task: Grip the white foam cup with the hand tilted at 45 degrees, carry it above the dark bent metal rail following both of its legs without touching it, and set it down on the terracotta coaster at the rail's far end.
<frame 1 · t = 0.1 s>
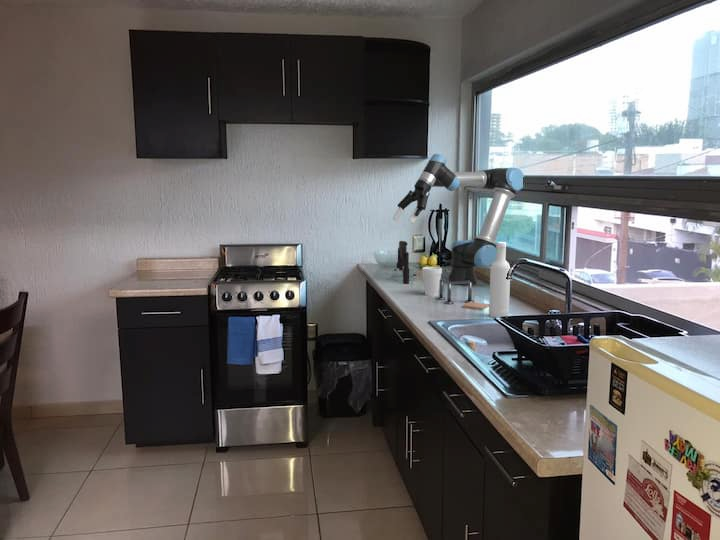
hand: (402, 220, 273), 36 cm above the worktop, tool tilted 35°, fingers open, 13 cm apart
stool: (402, 280, 323), on the worktop
foam cup: (431, 295, 280), on the worktop
bent rail: (452, 301, 264), on the worktop
coaster: (475, 306, 253), on the worktop
bottle: (498, 316, 236), on the worktop
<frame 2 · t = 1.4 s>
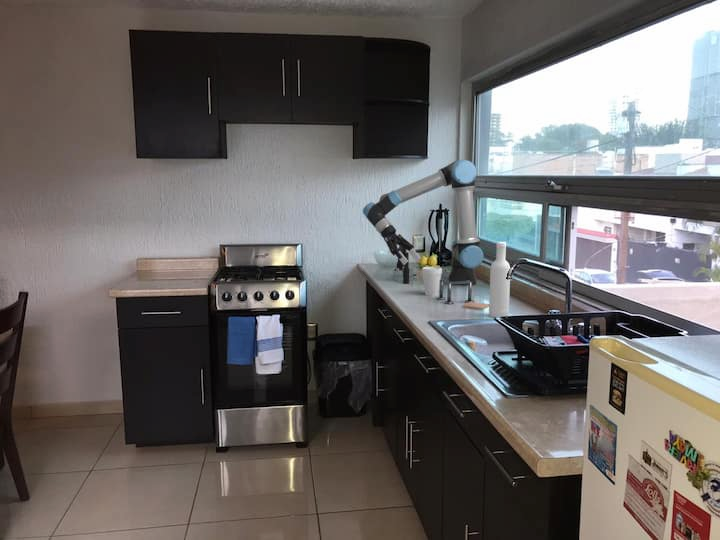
hand: (412, 261, 283), 15 cm above the worktop, tool tilted 45°, fingers open, 13 cm apart
nothing on the worktop moved.
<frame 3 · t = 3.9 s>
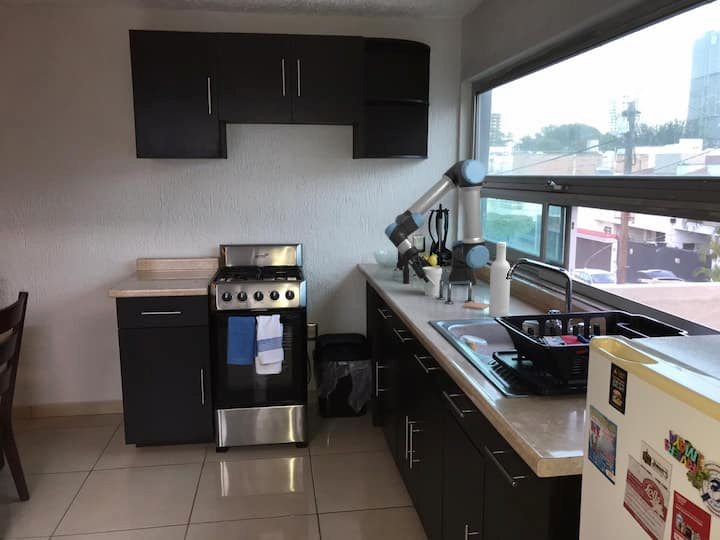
hand: (437, 285, 278), 5 cm above the worktop, tool tilted 45°, fingers closed on foam cup, 9 cm apart
foam cup: (431, 295, 280), on the worktop, touching gripper
everything else where it was.
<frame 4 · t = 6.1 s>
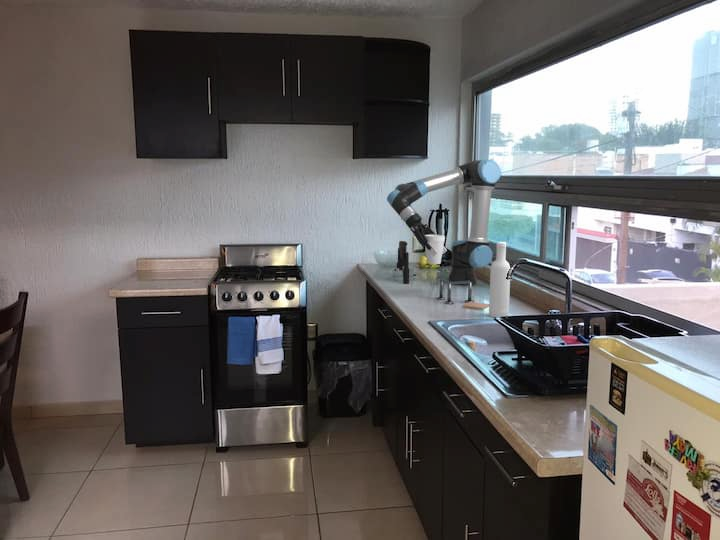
hand: (440, 253, 271), 21 cm above the worktop, tool tilted 45°, fingers closed on foam cup, 9 cm apart
foam cup: (433, 263, 274), point 16 cm above the worktop, touching gripper
everything else where it was.
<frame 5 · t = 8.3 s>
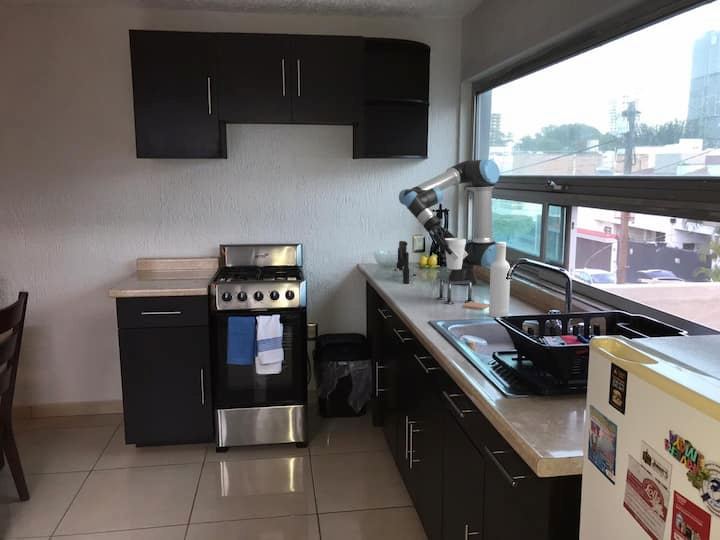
hand: (461, 257, 257), 21 cm above the worktop, tool tilted 45°, fingers closed on foam cup, 9 cm apart
foam cup: (454, 268, 259), point 16 cm above the worktop, touching gripper
everything else where it was.
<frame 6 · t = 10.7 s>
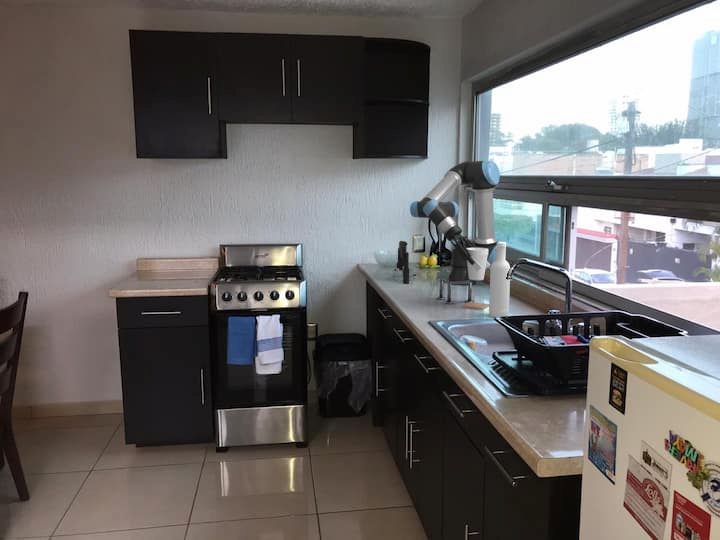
hand: (483, 268, 249), 17 cm above the worktop, tool tilted 45°, fingers closed on foam cup, 9 cm apart
foam cup: (476, 279, 251), point 12 cm above the worktop, touching gripper
everything else where it was.
when the fingers open (7 cm above the worktop, at t = 12.9 s): foam cup drops 1 cm, resting on coaster.
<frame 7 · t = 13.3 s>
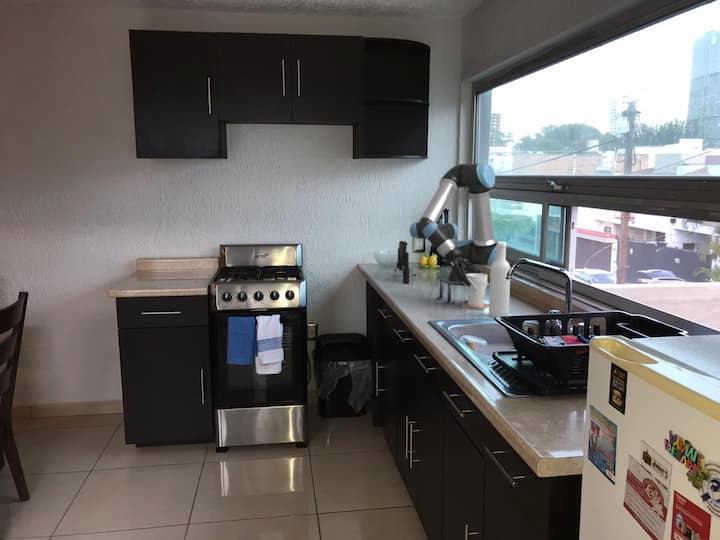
hand: (481, 288, 251), 8 cm above the worktop, tool tilted 45°, fingers open, 13 cm apart
foam cup: (475, 305, 253), point 1 cm above the worktop, touching coaster
everything else where it was.
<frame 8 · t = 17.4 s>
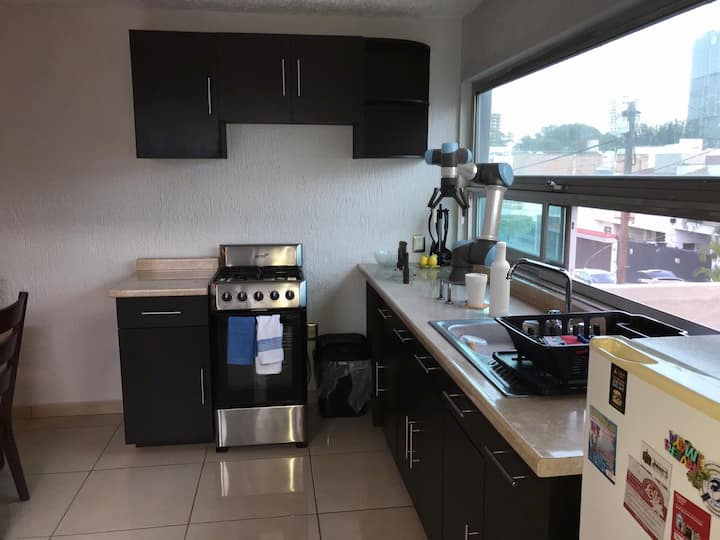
hand: (447, 223, 270), 35 cm above the worktop, tool pointing down, fingers open, 13 cm apart
nothing on the worktop moved.
at the end: foam cup inside the target area on the coaster (0.2 cm from its centre), point 0.8 cm above the coaster's base; foam cup tilted 0°; the gripper is holding nothing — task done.
